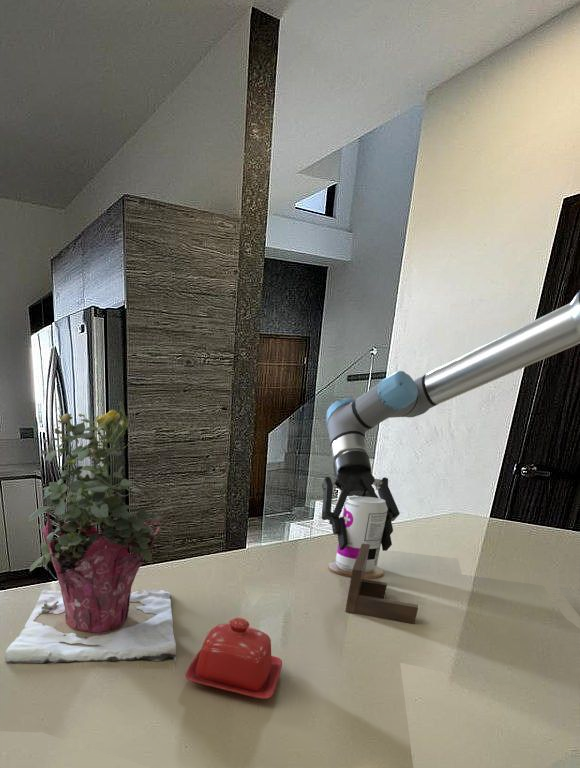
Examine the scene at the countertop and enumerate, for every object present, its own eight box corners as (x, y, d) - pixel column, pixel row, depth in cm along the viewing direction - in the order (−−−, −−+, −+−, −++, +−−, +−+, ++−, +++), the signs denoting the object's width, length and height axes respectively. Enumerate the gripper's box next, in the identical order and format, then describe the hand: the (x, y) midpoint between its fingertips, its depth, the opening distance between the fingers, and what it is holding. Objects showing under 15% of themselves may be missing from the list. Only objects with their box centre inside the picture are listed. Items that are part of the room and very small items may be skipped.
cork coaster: (383, 566, 108) (384, 564, 107) (381, 582, 99) (381, 579, 98) (331, 559, 113) (332, 557, 112) (324, 573, 104) (324, 570, 103)
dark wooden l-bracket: (414, 589, 95) (423, 550, 92) (414, 624, 80) (424, 579, 77) (355, 580, 100) (361, 543, 97) (345, 611, 85) (352, 569, 82)
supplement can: (336, 571, 103) (348, 502, 97) (333, 560, 110) (344, 495, 105) (378, 575, 101) (392, 504, 95) (372, 563, 108) (384, 497, 103)
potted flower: (43, 593, 93) (29, 401, 81) (169, 594, 93) (174, 401, 80) (4, 662, 69) (-25, 402, 56) (176, 665, 68) (186, 401, 55)
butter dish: (284, 665, 68) (291, 610, 65) (270, 709, 58) (277, 647, 55) (205, 648, 72) (208, 597, 69) (180, 687, 63) (182, 629, 60)
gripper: (390, 470, 112) (408, 556, 103) (299, 469, 114) (309, 554, 104) (405, 449, 105) (426, 539, 96) (308, 448, 107) (319, 537, 98)
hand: (365, 547), depth 100 cm, fingers closed on supplement can, 8 cm apart
